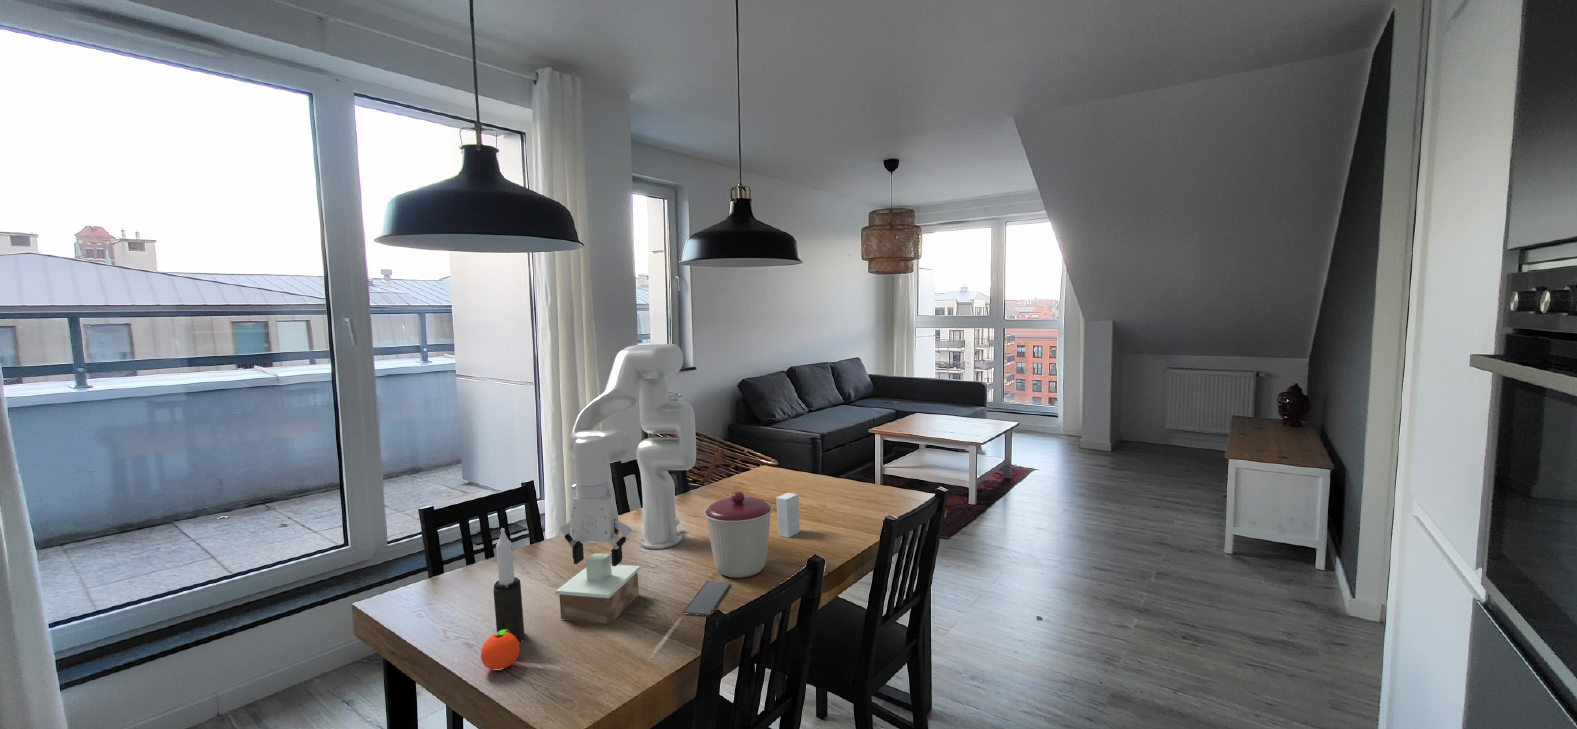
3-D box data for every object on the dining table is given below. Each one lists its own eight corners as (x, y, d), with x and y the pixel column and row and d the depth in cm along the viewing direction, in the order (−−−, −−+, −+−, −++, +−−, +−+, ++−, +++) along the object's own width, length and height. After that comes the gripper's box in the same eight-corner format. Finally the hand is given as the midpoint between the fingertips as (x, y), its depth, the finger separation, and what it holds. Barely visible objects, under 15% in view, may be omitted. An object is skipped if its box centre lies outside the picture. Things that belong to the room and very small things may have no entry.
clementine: (493, 656, 125) (490, 622, 124) (528, 653, 125) (525, 620, 125) (475, 679, 117) (472, 644, 116) (512, 677, 117) (509, 641, 117)
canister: (788, 566, 163) (786, 489, 161) (742, 591, 149) (738, 507, 148) (740, 551, 175) (736, 479, 173) (692, 573, 161) (688, 495, 159)
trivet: (671, 580, 157) (670, 578, 157) (730, 584, 153) (730, 582, 153) (643, 611, 141) (643, 608, 141) (708, 616, 138) (708, 613, 138)
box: (594, 594, 151) (592, 567, 150) (639, 597, 148) (637, 570, 147) (561, 623, 137) (559, 593, 136) (610, 627, 134) (608, 597, 134)
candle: (497, 651, 126) (488, 534, 124) (498, 639, 131) (489, 526, 129) (524, 645, 128) (515, 530, 126) (524, 634, 133) (515, 522, 131)
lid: (591, 571, 151) (590, 543, 150) (640, 574, 148) (638, 546, 147) (556, 599, 136) (554, 569, 136) (609, 603, 133) (607, 572, 133)
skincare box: (788, 529, 191) (787, 492, 189) (800, 532, 188) (798, 494, 187) (777, 535, 186) (775, 497, 185) (788, 538, 183) (787, 499, 182)
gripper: (550, 493, 138) (554, 567, 139) (620, 496, 134) (624, 571, 136) (569, 484, 145) (573, 555, 147) (635, 486, 142) (639, 558, 143)
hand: (597, 563), depth 141 cm, fingers open, 9 cm apart
